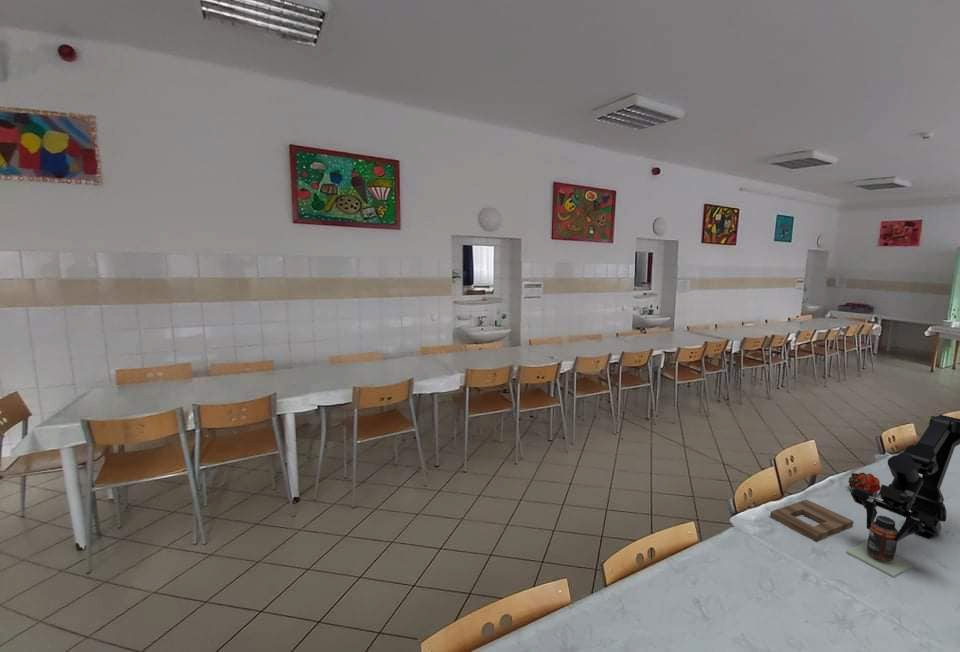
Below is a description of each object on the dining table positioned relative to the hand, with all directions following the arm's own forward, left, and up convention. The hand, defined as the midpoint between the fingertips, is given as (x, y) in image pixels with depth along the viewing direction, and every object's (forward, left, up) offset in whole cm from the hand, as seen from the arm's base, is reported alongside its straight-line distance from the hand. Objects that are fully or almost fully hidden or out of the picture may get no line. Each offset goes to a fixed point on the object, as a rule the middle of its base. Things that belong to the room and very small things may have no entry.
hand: (881, 534), depth 122 cm
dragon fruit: (-43, -23, -9) cm, 50 cm away
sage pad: (-1, 0, -8) cm, 8 cm away
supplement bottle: (-1, 0, -7) cm, 7 cm away
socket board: (-3, -19, -8) cm, 21 cm away
